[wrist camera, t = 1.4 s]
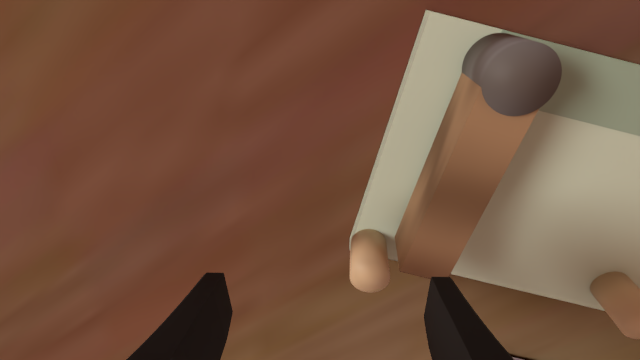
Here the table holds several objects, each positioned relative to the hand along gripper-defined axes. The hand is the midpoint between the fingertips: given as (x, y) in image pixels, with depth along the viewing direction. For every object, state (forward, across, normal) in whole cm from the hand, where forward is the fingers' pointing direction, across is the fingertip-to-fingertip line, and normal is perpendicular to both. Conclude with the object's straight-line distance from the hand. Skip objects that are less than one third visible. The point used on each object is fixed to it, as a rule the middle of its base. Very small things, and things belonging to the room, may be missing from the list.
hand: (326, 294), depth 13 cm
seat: (+10, -12, +1) cm, 15 cm away
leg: (+8, -6, -1) cm, 11 cm away
